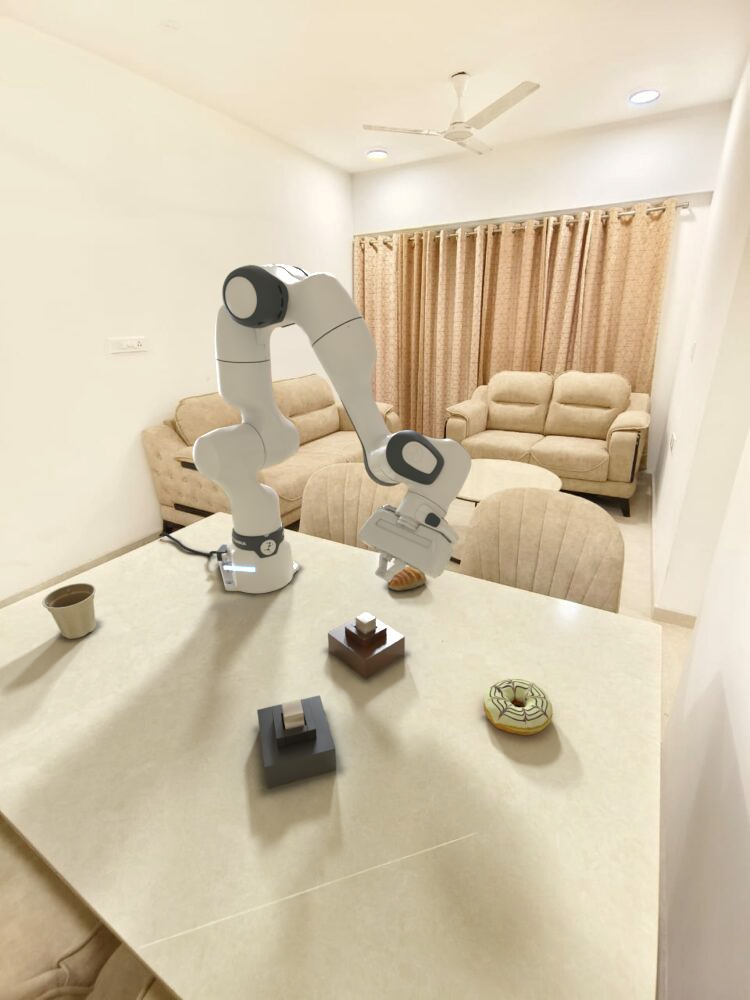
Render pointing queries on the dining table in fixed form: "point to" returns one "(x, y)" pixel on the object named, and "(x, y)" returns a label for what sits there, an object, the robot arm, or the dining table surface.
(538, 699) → the decorated donut
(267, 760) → the black key block
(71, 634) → the flower pot
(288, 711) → the front key
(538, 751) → the dining table surface
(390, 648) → the walnut key block
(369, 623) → the back key
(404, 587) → the pastry
